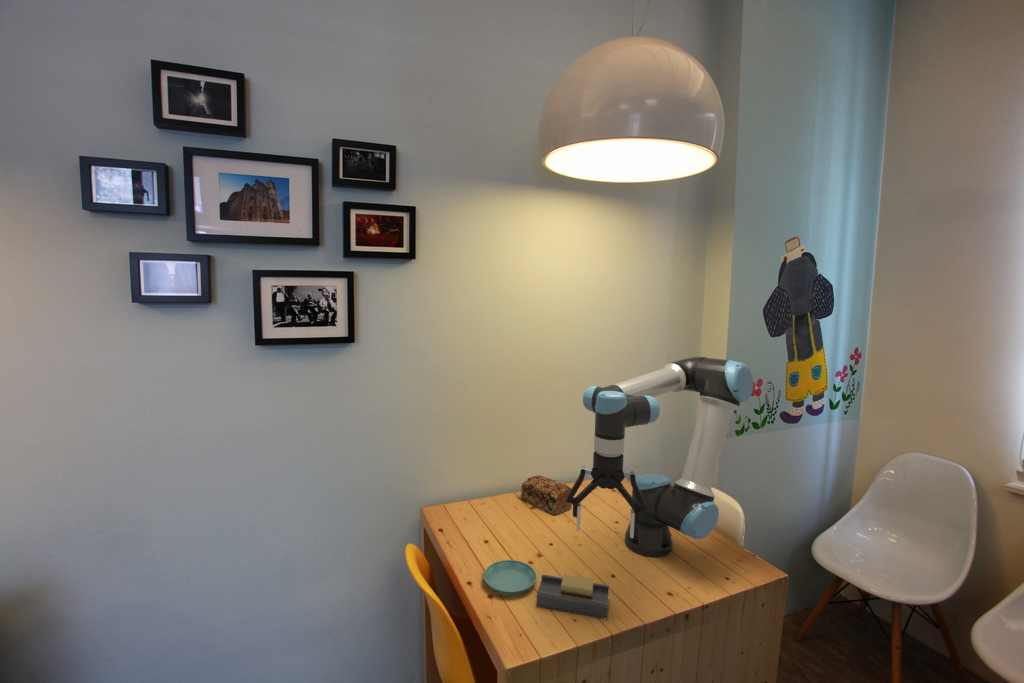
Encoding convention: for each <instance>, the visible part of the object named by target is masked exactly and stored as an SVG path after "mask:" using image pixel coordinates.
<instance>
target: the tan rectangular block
mask: <svg viewBox="0 0 1024 683" xmlns="http://www.w3.org/2000/svg"><path fill="white" fill-rule="evenodd" d="M562 578H563V579H562V583H561V594H562V595H568V596H574V597H580V598H586V599H591V600H592V597H593V584H594V583H595V582H594V581H595V580H594V578H589V577H584V576H577V575H571V574H566V573H564V574H563V575H562Z"/></svg>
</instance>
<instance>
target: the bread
mask: <svg viewBox="0 0 1024 683" xmlns="http://www.w3.org/2000/svg"><path fill="white" fill-rule="evenodd" d="M520 487H521V488H520V489H521V491H520V492H521V493H520V494H521V495H520V496H521V499H522V501H523V502H524V503H527V504H528V505H531V506H533V507H535V508H536V509H539V510H542V511H543V512H545V513H547V514H550V515H554V516H559V515H561V514H563V513H566V512H568V511H570V510H571V509H572V506H573V504H571V503H568V502H567V501H566V499H567V495H568V494H569V492H570V490H571V489H572V487H570V486H569V485H567V484H566V483H562V482H559V481H557V480H555V479H552V478H549V477H546V476H543V475H539V474H538V475H534V476H530V477H528V478H527V479H526V480H524V482H523V483H522V484H521V486H520Z"/></svg>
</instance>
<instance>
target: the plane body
mask: <svg viewBox="0 0 1024 683" xmlns="http://www.w3.org/2000/svg"><path fill="white" fill-rule="evenodd" d="M562 579H563V576H561V577H560V576H555V575H549V574H543V573H542V574H541V580H540V584H539V587H538V590H536V604H535V605H536V607H537V608H543V609H547V610H551V611H552V610H553V611H558V612H564V613H568V614H569V613H570V614H576V615H581V616H586V617H593V618H596V617H598V618H597V619H602V618H606V619H605V620H608V618H609V617H608V615H609V594H610V593H609V592H610V585H609V584H605V583H604V584H603V583H598V582H594V584H593V597H592V600H591V599H586V598H580V597H574V596H568V595H562V594H561V583H562Z"/></svg>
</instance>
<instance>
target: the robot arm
mask: <svg viewBox="0 0 1024 683" xmlns="http://www.w3.org/2000/svg"><path fill="white" fill-rule="evenodd" d="M753 388H754V377H753V375H752V370H751V369H750V368H749V367H748V365H746V364H745V363H744V362H740V361H736V360H732V359H729V360H728V359H722V358H713V357H711V358H710V357H706V356H694V357H688V358H682V359H679V360H675V361H672V362H669V363H666V364H664V366H663V367H662V368H660V369H657V370H655V371H651V372H649V373H645V374H642V375H639V376H636V377H633V378H629V379H626V380H624V381H620V382H617V383H615V384H611V385H607V386H603V387H601V386H599V385H598V386H597V385H596V386H595V385H592V386H589V387H588V388H586V389H585V391H584V392H583V395H582V404H583V407H584V408H585V409H586V410H588V411H590V412H592V413H594V414H595V415H594V416H595V417H594V418H595V419H594V436H593V437H594V438H593V451H594V452H593V456H592V457H593V458H592V468H591V469H590V468H586V467H585V466H581V468H580V472H579V476H578V477H577V478H576V480H575V482H574V483H573V485H572V487H571V490H570V492H569V494H568V495H567V499H566V501H567V502H568V503H571V504H572V517H573V518H576V530H575V531H576V532H580V530H581V511H582V501H584V500H585V499H586V497H588V496H589V494H591V493H592V491H594V490H596V489H597V488H598V487H599V488H600V489H609V490H614V489H616V490H617V491H618V492H619V493H620V494H621V496H622V497H623V498H624V499H625V501H626V502H627V503H628V504H629V506H630V508H631V509H630V521H629V524H628V526H627V528H626V531H625V532H624V544H625V546H626V547H627V548H628V549H629V550H630V551H632V552H634V553H636V554H639V555H641V556H645V557H650V558H661V557H666V556H668V555H670V554H672V552H673V546H674V541H673V537H672V534H671V531H670V528H671V529H674V530H675V531H678V532H680V533H681V534H682V535H685V536H688V537H690V538H691V539H695V540H702V539H704V538H706V537H708V536H709V535H710V534H711V533H712V531H714V529H715V527H716V525H717V523H718V521H719V517H720V516H719V514H720V513H719V511H720V510H719V507H718V506H717V504H716V503H715V502H714V501H715V494H714V492H713V490H712V486H713V483H714V479H715V475H716V471H717V468H718V465H719V461H720V457H721V453H722V450H723V446H724V443H725V442H724V441H725V439H726V434H727V431H728V427H729V425H730V424H729V423H730V422H731V416H732V413H733V412H734V411H736V410H738V409H739V408H740V404H741V403H745V402H746V401H748V400H749V398H751V396H752V394H753V390H754V389H753ZM681 391H690V392H695V393H699V395H698V398H699V400H700V402H701V407H700V411H699V414H698V418H697V422H696V425H695V429H694V432H693V435H692V440H691V442H690V446H689V450H688V452H687V456H686V461H685V464H684V468H683V471H682V474H681V477H680V478H679V479H678V480H675V481H674V484H673V485H671V484H672V480H671V478H670V476H667V475H664V474H661V473H644V474H639V475H635V474H636V473H635V472H634V471H630V472H625V471H624V452H625V434H626V428H631V427H638V426H645V425H648V424H651V423H655V422H656V421H657V420H658V419H659V416H660V415H661V414H660V413H661V408H660V404H659V402H658V400H657V399H656V398H655V397H659V396H661V395H665V394H666V393H669V392H673V393H679V392H681ZM588 476H591V478H592V480H590V483H588V484H587V485H586V486H585V488H584V489H582V490H581V491H580V492H579V493H578V494H577V492H578V490H579V488H580V487H581V485H582V483H583V482H584V480H585V478H588ZM624 479H626V481H627V482H628V483H630V486H631V490H632V491H631V494H630V493H629V491H628V490H627V489H626V488H625V486H624V484H623V483H622V482H623V481H624ZM576 494H577V495H576ZM575 495H576V496H575Z"/></svg>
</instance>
